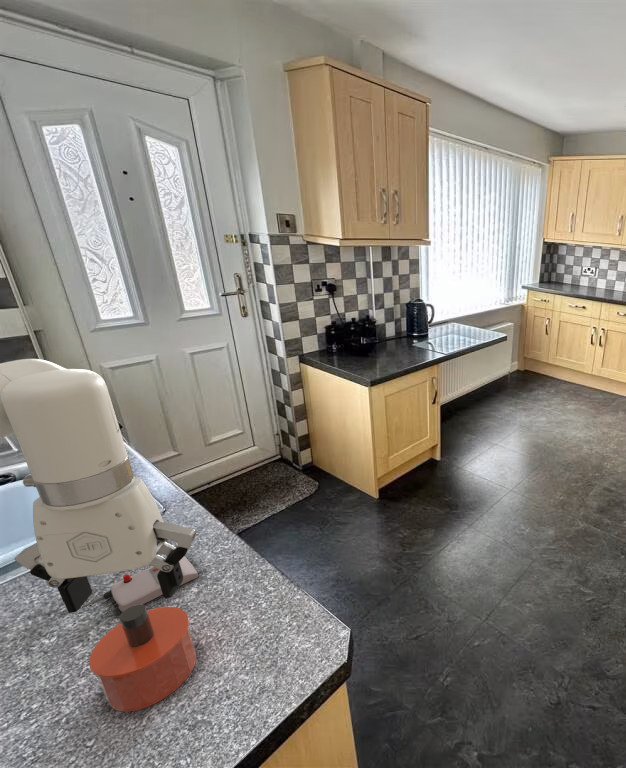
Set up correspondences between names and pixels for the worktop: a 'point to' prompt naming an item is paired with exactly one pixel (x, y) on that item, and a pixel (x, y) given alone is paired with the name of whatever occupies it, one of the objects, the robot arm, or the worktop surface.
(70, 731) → the worktop surface
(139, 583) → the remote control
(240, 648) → the worktop surface
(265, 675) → the worktop surface
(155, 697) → the pot
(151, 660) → the lid
